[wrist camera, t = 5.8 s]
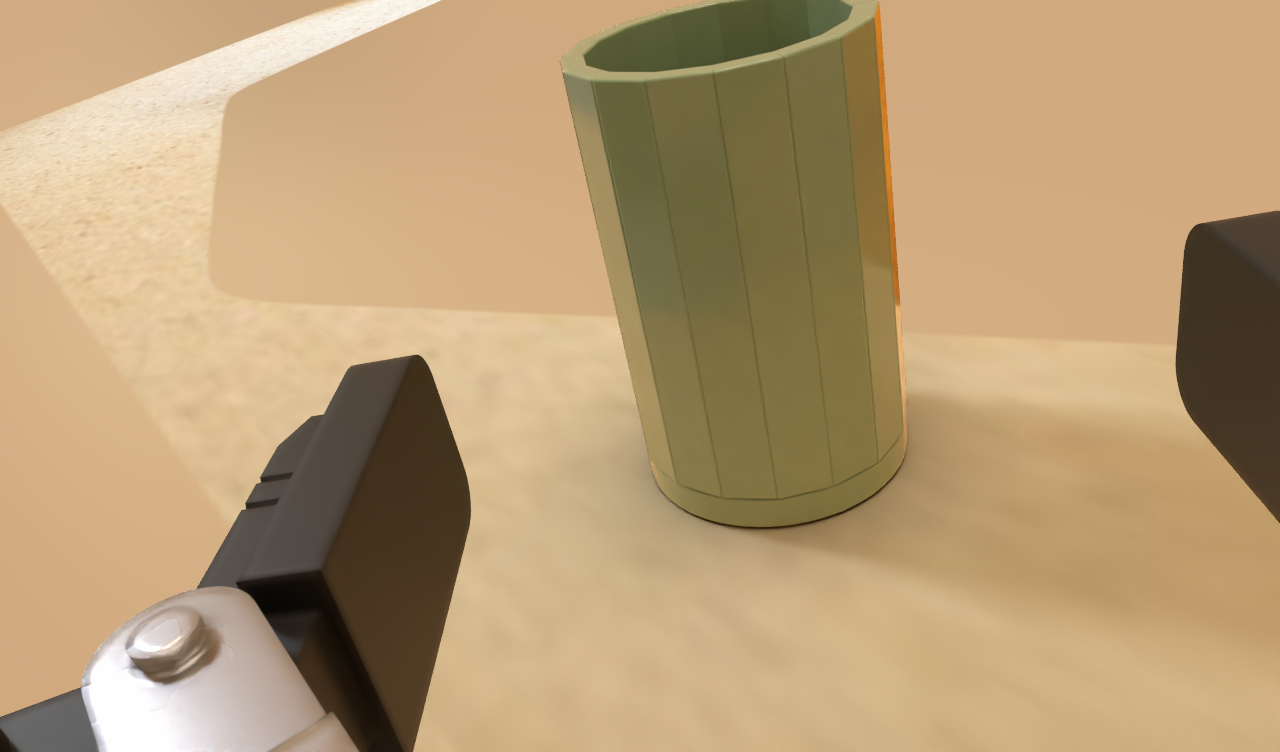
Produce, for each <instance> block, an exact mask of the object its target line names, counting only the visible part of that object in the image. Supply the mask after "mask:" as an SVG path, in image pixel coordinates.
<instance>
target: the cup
mask: <svg viewBox="0 0 1280 752" xmlns="http://www.w3.org/2000/svg"><path fill="white" fill-rule="evenodd" d="M881 33H882V32H881V19H880V5H879V2H878V1H877V0H707V1H702V2H698V3H693V4H689V5H684V6H680V7H675V8H671V9H666V10H665V11H659V12H656V13H653V14H650V15H646V16H643V17H640V18H637V19H634V20H630V21H627V22H624V23H621V24H618V25H615V26H613V27H611V28H609V29H606V30H604V31H602V32H599V33H597V34H595V35H593V36H591V37H588V38H586V39H584V40H582V41H580V42H579V43H578V44H576V45H575V46H574V47H573V48H572V49H570V50H569V51H568V52H567V53H566V54H564V55H563V56H562V57H561V59H560V65H561V69H562V74H563V78H564V83H565V87H566V92H567V96H568V100H569V105H570V109H571V114H572V118H573V122H574V127H575V131H576V136H577V140H578V145H579V149H580V154H581V158H582V162H583V167H584V171H585V176H586V180H587V184H588V188H589V193H590V197H591V202H592V206H593V211H594V215H595V220H596V224H597V229H598V233H599V238H600V242H601V246H602V251H603V255H604V260H605V264H606V269H607V273H608V277H609V282H610V286H611V290H612V295H613V299H614V304H615V308H616V313H617V317H618V322H619V326H620V330H621V335H622V339H623V344H624V348H625V353H626V357H627V361H628V366H629V370H630V375H631V379H632V384H633V388H634V392H635V397H636V401H637V406H638V410H639V414H640V419H641V423H642V428H643V432H644V437H645V441H646V445H647V450H648V454H649V459H650V463H651V468H652V472H653V475H654V478H655V480H656V482H657V484H658V486H659V487H660V489H661V490H662V491H663V492H664V494H665V495H666V496H667V497H668V498H669V499H670V500H671V501H673V502H674V503H675V504H677V505H678V506H679V507H681V508H683V509H684V510H686V511H688V512H690V513H692V514H694V515H697V516H699V517H702V518H704V519H707V520H711V521H715V522H718V523H723V524H729V525H735V526H745V527H777V526H787V525H795V524H800V523H806V522H811V521H814V520H818V519H822V518H825V517H828V516H831V515H834V514H837V513H839V512H842V511H844V510H846V509H849V508H851V507H853V506H855V505H857V504H859V503H860V502H862V501H864V500H865V499H867V498H869V497H870V496H872V495H873V494H874V493H876V492H877V491H878V490H879V489H881V488H882V487H883V486H884V485H885V484H886V483H887V482H888V481H889V480H890V479H891V478H892V477H893V476H894V474H895V473H896V471H897V470H898V468H899V467H900V465H901V463H902V461H903V458H904V456H905V453H906V448H907V424H906V406H907V398H906V383H905V369H904V354H903V339H902V325H901V310H900V295H899V281H898V267H897V252H896V237H895V222H894V208H893V193H892V179H891V165H890V151H889V135H888V120H887V106H886V92H885V76H884V63H883V62H884V61H883V47H882V34H881Z"/></svg>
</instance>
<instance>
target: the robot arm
mask: <svg viewBox="0 0 1280 752" xmlns="http://www.w3.org/2000/svg"><path fill="white" fill-rule="evenodd" d="M1181 286H1182V287H1181V299H1180V313H1179V324H1178V338H1177V350H1176V375H1177V382H1178V387H1179V391H1180V395H1181V398H1182V401H1183V403H1184V406H1185V408H1186V410H1187V412H1188V414H1189V415H1190V417H1191V418H1192V420H1193V421H1194V422H1195V424H1196V425H1197V426H1198V427H1199V428H1200V430H1201V431H1202V432H1203V433H1204V434H1205V435H1206V437H1207V438H1208V439H1209V440H1210V441H1211V443H1212V444H1213V445H1214V446H1215V447H1216V448H1217V450H1218V451H1219V452H1220V453H1221V454H1222V455H1223V457H1224V458H1225V459H1226V460H1227V461H1228V463H1229V464H1230V465H1231V466H1232V467H1233V468H1234V470H1235V471H1236V472H1237V473H1238V474H1239V476H1240V477H1241V478H1242V479H1243V480H1244V481H1245V483H1246V484H1247V485H1248V486H1249V487H1250V489H1251V490H1252V491H1253V492H1254V493H1255V494H1256V496H1257V497H1258V498H1259V499H1260V500H1261V502H1262V503H1263V504H1264V505H1265V506H1266V507H1267V509H1268V510H1269V511H1270V512H1271V513H1272V514H1273V516H1274V517H1275V518H1276V519H1277V520H1278V522H1279V523H1280V211H1272V212H1267V213H1260V214H1255V215H1248V216H1243V217H1237V218H1231V219H1225V220H1219V221H1213V222H1207V223H1201V224H1198V225H1196V226H1194V228H1193V229H1192V230H1191V231H1190V233H1189V235H1188V238H1187V240H1186V244H1185V250H1184V260H1183V273H1182V285H1181ZM260 479H261V483H259V484H256V486H255V487H254V489H253V491H252V493H251V494H250V496H249V498H248V500H247V501H246V503H245V504H246V510H241V512H240V514H239V515H238V517H237V519H236V521H235V522H234V524H233V526H232V528H231V529H230V531H229V533H228V535H227V536H226V538H225V540H224V542H223V544H222V545H221V547H220V549H219V550H218V552H217V554H216V556H215V557H214V559H213V561H212V563H211V564H210V566H209V568H208V570H207V571H206V573H205V575H204V577H203V578H202V580H201V582H200V584H199V585H198V587H197V589H195V590H191V591H187V592H183V593H180V594H178V595H175V596H172V597H170V598H167V599H165V600H163V601H161V602H159V603H157V604H154V605H152V606H151V607H149V608H147V609H146V610H144V611H142V612H141V613H139V614H137V615H136V616H134V617H133V618H131V619H130V620H129V621H127V622H126V623H124V624H123V625H122V626H121V627H120V628H119V629H117V630H116V631H115V632H114V633H113V634H112V635H111V636H110V637H109V638H108V639H107V640H106V641H105V642H104V643H103V644H102V645H101V646H100V647H99V649H98V650H97V651H96V653H95V654H94V655H93V657H92V658H91V660H90V661H89V663H88V665H87V667H86V669H85V672H84V675H83V677H82V684H81V687H80V688H78V689H75V690H72V691H70V692H67V693H64V694H61V695H59V696H56V697H53V698H51V699H48V700H45V701H43V702H40V703H37V704H34V705H32V706H29V707H26V708H24V709H21V710H18V711H15V712H13V713H10V714H7V715H5V716H2V717H0V752H413V749H414V745H415V741H416V737H417V733H418V729H419V725H420V721H421V717H422V713H423V709H424V705H425V701H426V697H427V693H428V689H429V685H430V681H431V677H432V673H433V669H434V665H435V661H436V657H437V653H438V649H439V645H440V641H441V637H442V633H443V629H444V625H445V621H446V617H447V614H448V610H449V606H450V602H451V598H452V594H453V590H454V586H455V582H456V578H457V574H458V570H459V566H460V562H461V558H462V554H463V550H464V546H465V542H466V538H467V534H468V530H469V525H470V518H471V502H470V492H469V485H468V480H467V476H466V472H465V469H464V466H463V463H462V460H461V457H460V454H459V451H458V448H457V445H456V442H455V439H454V437H453V434H452V431H451V428H450V425H449V422H448V419H447V416H446V413H445V410H444V407H443V405H442V402H441V399H440V396H439V393H438V390H437V387H436V384H435V381H434V378H433V376H432V373H431V371H430V369H429V367H428V365H427V363H426V361H425V360H424V359H423V358H422V357H421V356H419V355H412V356H406V357H400V358H394V359H388V360H382V361H377V362H371V363H365V364H359V365H353V366H351V367H350V368H349V369H348V370H347V372H346V374H345V375H344V377H343V379H342V381H341V383H340V385H339V387H338V389H337V391H336V392H335V394H334V396H333V398H332V400H331V402H330V404H329V406H328V408H327V410H326V411H325V413H324V415H318V416H312V417H310V418H309V419H308V420H307V421H306V422H305V423H304V424H303V425H301V426H300V427H299V428H298V429H297V430H296V431H295V432H294V433H292V434H291V435H290V436H289V437H288V438H287V439H286V440H285V441H283V442H282V443H281V444H280V445H279V446H278V447H277V449H276V451H275V452H274V454H273V456H272V458H271V459H270V461H269V463H268V465H267V466H266V468H265V470H264V472H263V473H262V475H261V477H260Z"/></svg>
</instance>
